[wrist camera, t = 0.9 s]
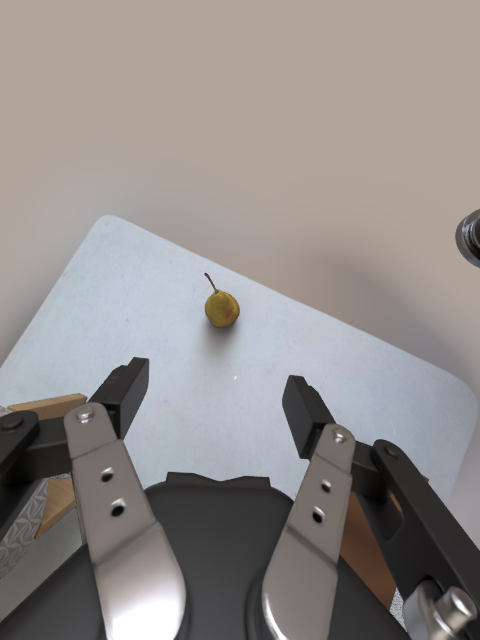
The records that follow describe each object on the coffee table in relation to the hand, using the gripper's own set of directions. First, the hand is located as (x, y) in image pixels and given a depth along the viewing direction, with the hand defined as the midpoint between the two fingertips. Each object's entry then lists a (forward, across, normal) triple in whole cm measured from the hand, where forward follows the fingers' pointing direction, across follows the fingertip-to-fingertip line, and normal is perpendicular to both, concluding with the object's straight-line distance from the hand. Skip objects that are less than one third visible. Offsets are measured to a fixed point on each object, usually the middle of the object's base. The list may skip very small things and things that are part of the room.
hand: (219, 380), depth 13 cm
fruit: (+26, -1, +5) cm, 27 cm away
